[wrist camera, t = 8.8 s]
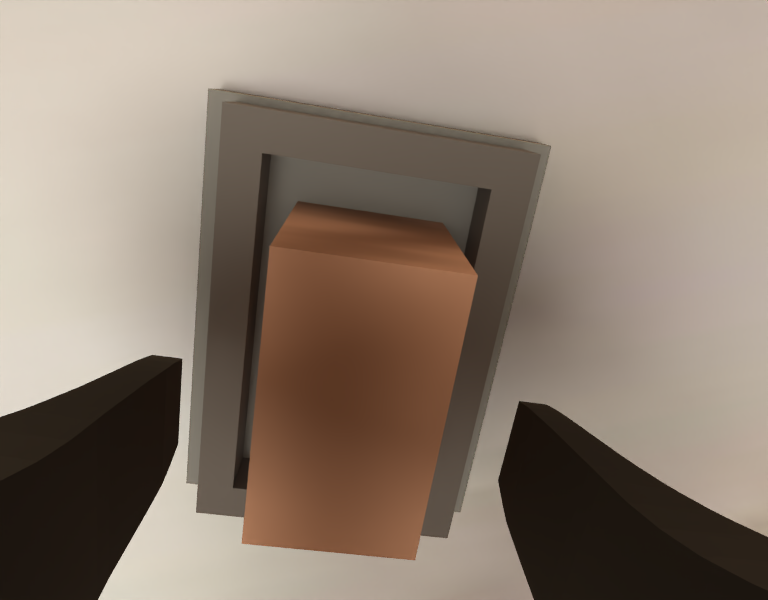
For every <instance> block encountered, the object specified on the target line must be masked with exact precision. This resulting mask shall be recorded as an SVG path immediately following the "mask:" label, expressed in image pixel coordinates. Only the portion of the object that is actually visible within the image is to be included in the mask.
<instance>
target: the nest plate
mask: <svg viewBox="0 0 768 600" xmlns="http://www.w3.org/2000/svg"><path fill="white" fill-rule="evenodd" d="M550 149H551V146H549V145H545V144H540V143H536V142H530V141H524V140H518V139H512V138H506V137H500V136H494V135H488V134H482V133H476V132H470V131H464V130H458V129H452V128H446V127H440V126H434V125H428V124H423V123H417V122H411V121H405V120H399V119H393V118H387V117H381V116H375V115H369V114H363V113H357V112H351V111H345V110H339V109H333V108H327V107H321V106H315V105H309V104H303V103H298V102H292V101H286V100H280V99H274V98H268V97H262V96H256V95H250V94H244V93H238V92H232V91H226V90H220V89H208V104H207V122H206V140H205V158H204V176H203V194H202V212H201V230H200V248H199V266H198V284H197V302H196V320H195V338H194V356H193V374H192V392H191V410H190V428H189V446H188V464H187V482H186V483H190V484H198V491H197V507H196V512H197V513H207V514H216V515H226V516H236V517H244V514H245V504H246V493H247V483H248V472H249V461H250V451H251V440H252V430H253V419H254V408H255V398H256V387H257V376H258V366H259V355H260V345H261V334H262V323H263V313H264V302H265V292H266V281H267V270H268V260H269V249H270V245H271V243H272V242H273V240H274V238H275V237H276V235H277V234H278V232H279V230H280V229H281V227H282V226H283V224H284V222H285V221H286V219H287V218H288V216H289V214H290V213H291V211H292V210H293V208H294V206H295V205H296V203H297V202H298V201H301V202H308V203H314V204H321V205H328V206H334V207H341V208H348V209H354V210H361V211H368V212H374V213H381V214H388V215H394V216H401V217H408V218H414V219H421V220H428V221H434V222H441V223H443V224H444V225H445V227H446V228H447V230H448V231H449V233H450V234H451V236H452V237H453V239H454V240H455V242H456V243H457V245H458V246H459V248H460V249H461V251H462V252H463V254H464V255H465V257H466V258H467V260H468V261H469V263H470V264H471V266H472V267H473V269H474V270H475V272H476V273H477V275H478V278H477V282H476V287H475V291H474V296H473V300H472V305H471V309H470V314H469V318H468V323H467V327H466V332H465V336H464V341H463V345H462V350H461V354H460V359H459V363H458V368H457V373H456V377H455V382H454V386H453V391H452V395H451V400H450V404H449V409H448V413H447V418H446V422H445V427H444V431H443V436H442V440H441V445H440V449H439V454H438V458H437V463H436V467H435V472H434V476H433V481H432V485H431V490H430V495H429V499H428V504H427V508H426V513H425V517H424V522H423V526H422V531H421V535H422V536H432V537H441V538H448V534H449V529H450V525H451V521H452V517H453V513H454V512H460V511H461V507H462V503H463V499H464V495H465V491H466V487H467V483H468V479H469V475H470V471H471V467H472V463H473V459H474V455H475V451H476V447H477V443H478V439H479V435H480V431H481V427H482V423H483V419H484V415H485V411H486V407H487V403H488V399H489V395H490V390H491V386H492V382H493V378H494V374H495V370H496V366H497V362H498V358H499V354H500V350H501V346H502V342H503V338H504V334H505V330H506V326H507V322H508V318H509V314H510V310H511V306H512V302H513V298H514V294H515V290H516V286H517V282H518V278H519V274H520V270H521V266H522V262H523V258H524V254H525V250H526V246H527V242H528V238H529V234H530V230H531V226H532V222H533V218H534V214H535V210H536V206H537V202H538V198H539V194H540V190H541V186H542V182H543V178H544V174H545V169H546V165H547V161H548V157H549V153H550Z"/></svg>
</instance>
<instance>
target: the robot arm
mask: <svg viewBox="0 0 768 600" xmlns="http://www.w3.org/2000/svg"><path fill="white" fill-rule="evenodd" d="M181 375H182V359H180V358H172V357H164V356H156V355H151V356H148V357H145V358H142V359H140V360H138V361H135V362H133V363H131V364H129V365H126V366H124V367H122V368H120V369H118V370H116V371H113V372H111V373H109V374H107V375H105V376H102V377H100V378H98V379H96V380H94V381H91V382H89V383H87V384H85V385H83V386H80V387H78V388H76V389H73V390H71V391H68V392H66V393H63V394H61V395H58V396H56V397H54V398H51V399H49V400H46V401H44V402H41V403H39V404H36V405H34V406H31V407H28V408H26V409H23V410H20V411H17V412H14V413H11V414H8V415H5V416H2V417H0V600H98V598H99V596H100V594H101V592H102V590H103V589H104V587H105V585H106V583H107V581H108V579H109V577H110V575H111V574H112V572H113V570H114V568H115V567H116V565H117V563H118V561H119V560H120V558H121V556H122V554H123V553H124V551H125V549H126V547H127V546H128V544H129V542H130V540H131V539H132V537H133V535H134V533H135V532H136V530H137V528H138V526H139V525H140V523H141V521H142V519H143V518H144V516H145V514H146V512H147V511H148V509H149V507H150V505H151V503H152V502H153V500H154V498H155V496H156V495H157V493H158V491H159V489H160V487H161V485H162V483H163V481H164V478H165V476H166V474H167V471H168V469H169V466H170V464H171V461H172V458H173V456H174V453H175V451H176V448H177V445H178V435H179V415H180V395H181ZM498 482H499V487H500V493H501V498H502V503H503V508H504V513H505V517H506V522H507V525H508V528H509V531H510V534H511V537H512V539H513V542H514V545H515V548H516V551H517V554H518V557H519V559H520V562H521V565H522V568H523V570H524V573H525V576H526V579H527V582H528V584H529V587H530V590H531V593H532V595H533V598H534V600H768V537H766V536H764V535H762V534H760V533H758V532H755V531H753V530H751V529H749V528H747V527H745V526H743V525H740V524H738V523H736V522H734V521H732V520H730V519H728V518H726V517H724V516H722V515H720V514H718V513H716V512H714V511H712V510H710V509H708V508H706V507H705V506H703V505H701V504H699V503H697V502H696V501H694V500H692V499H690V498H688V497H687V496H685V495H683V494H681V493H679V492H677V491H676V490H674V489H672V488H671V487H669V486H667V485H666V484H664V483H662V482H661V481H659V480H658V479H656V478H655V477H653V476H651V475H650V474H648V473H647V472H645V471H644V470H642V469H641V468H639V467H637V466H636V465H634V464H633V463H631V462H630V461H629V460H627V459H626V458H624V457H623V456H621V455H620V454H618V453H617V452H615V451H614V450H613V449H611V448H610V447H608V446H607V445H605V444H604V443H603V442H601V441H600V440H598V439H597V438H596V437H594V436H593V435H592V434H590V433H589V432H587V431H586V430H585V429H583V428H582V427H580V426H579V425H578V424H576V423H575V422H573V421H572V420H570V419H569V418H568V417H566V416H565V415H563V414H562V413H560V412H559V411H557V410H555V409H554V408H552V407H550V406H548V405H545V404H537V403H529V402H521V401H519V404H518V408H517V412H516V415H515V419H514V423H513V427H512V430H511V434H510V438H509V442H508V445H507V449H506V453H505V457H504V460H503V464H502V468H501V472H500V475H499V479H498Z"/></svg>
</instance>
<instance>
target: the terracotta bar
mask: <svg viewBox="0 0 768 600" xmlns="http://www.w3.org/2000/svg"><path fill="white" fill-rule="evenodd" d="M477 278H478V275H477V273H476V272H475V270H474V269H473V267H472V266H471V264H470V263H469V261H468V260H467V258H466V257H465V255H464V254H463V252H462V251H461V249H460V248H459V246H458V245H457V243H456V242H455V240H454V239H453V237H452V236H451V234H450V233H449V231H448V230H447V228H446V227H445V225H444V224H443V223H441V222H434V221H428V220H421V219H414V218H408V217H401V216H394V215H388V214H381V213H374V212H368V211H361V210H354V209H348V208H341V207H334V206H328V205H321V204H314V203H308V202H301V201H298V202H297V203H296V205H295V206H294V208H293V210H292V211H291V213H290V214H289V216H288V218H287V219H286V221H285V222H284V224H283V226H282V227H281V229H280V230H279V232H278V234H277V235H276V237H275V238H274V240H273V242H272V243H271V245H270V249H269V260H268V270H267V281H266V292H265V302H264V313H263V323H262V334H261V345H260V355H259V366H258V376H257V387H256V398H255V408H254V419H253V430H252V440H251V451H250V461H249V472H248V483H247V493H246V504H245V514H244V525H243V536H242V544H252V545H262V546H273V547H283V548H293V549H304V550H314V551H325V552H335V553H346V554H356V555H366V556H377V557H387V558H398V559H408V560H415V558H416V553H417V549H418V544H419V540H420V535H421V531H422V526H423V522H424V517H425V513H426V508H427V504H428V499H429V495H430V490H431V485H432V481H433V476H434V472H435V467H436V463H437V458H438V454H439V449H440V445H441V440H442V436H443V431H444V427H445V422H446V418H447V413H448V409H449V404H450V400H451V395H452V391H453V386H454V382H455V377H456V373H457V368H458V363H459V359H460V354H461V350H462V345H463V341H464V336H465V332H466V327H467V323H468V318H469V314H470V309H471V305H472V300H473V296H474V291H475V287H476V282H477Z"/></svg>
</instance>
